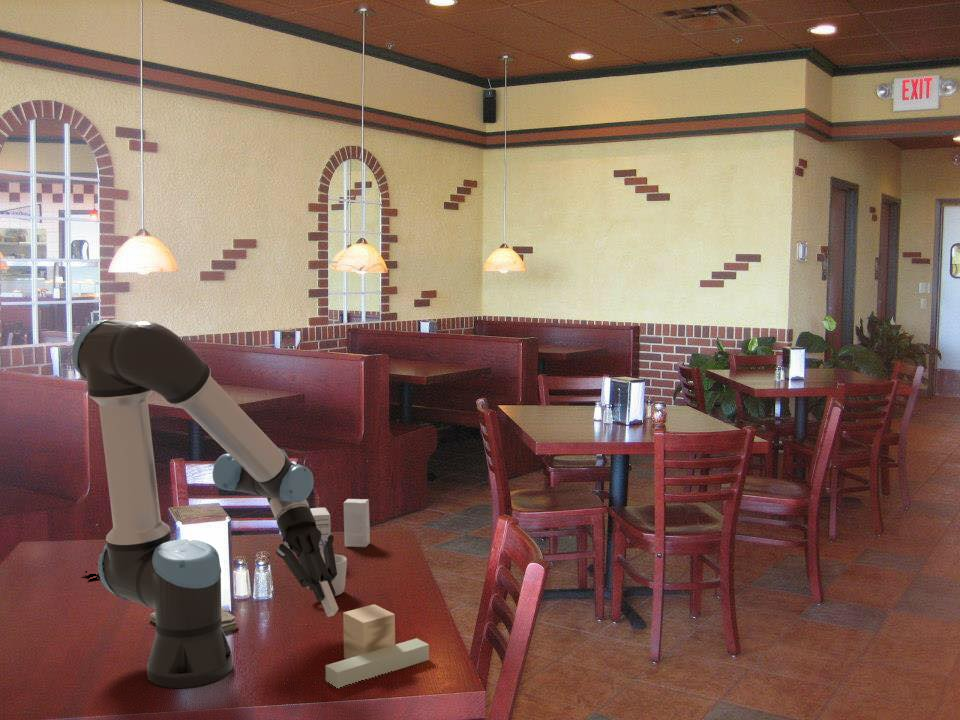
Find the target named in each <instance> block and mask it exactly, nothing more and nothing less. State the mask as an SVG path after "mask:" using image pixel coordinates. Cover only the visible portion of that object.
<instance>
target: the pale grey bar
mask: <svg viewBox="0 0 960 720" xmlns="http://www.w3.org/2000/svg"><path fill="white" fill-rule="evenodd" d="M427 661H430V644H429V643H427V642H425V641H423V640H421V639H419V638H418V637H416V638H413V639H409V640H406V641H404V642H403V641H402V642H399V643H395V645H392V646H389V647H386V648H382V649H379V650H375V651H372V652H369V653H365V654H362V655H359V656H355V657H352V658H349V659H345V658H344V659H341V660H339V661H336V662H333V663H329V664H325V682H326V681H327V682H326V683H328V682H329V683H330V684H329V683H328V684H329V685H331V684H332V685H333V686H332V685H331V686H332V687H334V686H335V687H336V689H337V688H338V689H341V688H340V687H342V688H344V687H343V686H345V685H348V684H351V685H353V684H352V683H354V684H356V683H355V682H357V683H359V682H358V681H361V680H364V681H366V680H365V679H367V680H370V679H372V677H373V678H376V677H379V676H378V675H380V676H382V675H381V674H383V675H386V674H389V673H392V672H394V671H398V670H401V669H405V668H408V667H410V666H413V665H417V664H421V663H424V662H427ZM391 671H392V672H391ZM388 672H389V673H388ZM385 673H386V674H385ZM375 676H376V677H375ZM369 678H370V679H369ZM361 682H362V681H361ZM348 686H349V685H348ZM335 687H334V688H335ZM345 687H346V686H345Z"/></svg>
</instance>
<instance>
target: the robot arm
mask: <svg viewBox="0 0 960 720" xmlns="http://www.w3.org/2000/svg"><path fill="white" fill-rule="evenodd" d="M71 360H72V363H73V367H74V368H75V370H76V371H77V373H78V374H79V375H80V376H81V377H82V378H84V379H86V383H87V384H86V385H87V391H88V393H87V394H88V397H89V398H91V400H93V401H94V402H95V403H97V404H98V407H99V408H98V409H99V418H100V425H101V426H100V428H101V433H102V436H101V437H102V443H103V451H104V459H105V469H106V477H107V485H108V493H109V494H108V495H109V501H110V502H109V503H110V511H111V518H112V519H111V520H112V528H111V530H110V531H109V532H108V533H107V534H106V536H105V541H106V543H105V545H104V547H103V549H102V550H103V551H102V553H100V554H99V556H98V557H99V559H98V560H97V561H98V563H97V564H98V565H97V568H98V572H99V575H98V576H99V577H100V578H99V577H98V578H99V580H100V581H101V584H102V585H103V586H104V587H105V589H106V590H107V591H109V592H110V593H112V594H114V595H115V596H117V597H119V598H121V599H123V600H125V601H127V602H128V601H129V602H133V603H136V604H139V605H143V606H145V607H148V608H151V609H154V612H155V621H156V624H155V636H154V640H153V643H152V646H151V649H150V654H149V656H148V659H147V664H146V672H147V673H146V676H148V677H147V679H148V680H150V681H149V682H151V683H152V682H153V683H152V684H154V685H156V686H159V687H163V688H169V689H170V688H172V689H182V688H183V689H185V688H194V687H200V686H203V685H204V686H205V685H208V684H211V683H214V682H216V681H219V680H222V679H223V678H225V677H226V676H227V675H229V674H230V673H231V672H232V670H233V665H234V662H233V660H234V659H233V653H232V652H233V651H232V650H231V647H230V645H229V643H228V640H227V637H226V634H225V633H224V631H223V629H222V618H221V608H222V568H221V563H220V561H221V560H220V555H219V552H218V551H217V549H216V548H215V547H214V546H212V545H211V544H209V543H208V542H204V541H200V540H195V539H194V540H189V539H173V540H172V534H171V527H170V525H169V524H168V523H166V522H164V521H163V520H162V519H161V518H162V517H161V508H160V502H159V501H160V500H159V493H158V483H157V475H156V474H157V473H156V465H155V455H154V454H155V453H154V445H153V437H152V430H151V429H152V428H151V421H150V420H151V419H150V412H149V411H150V410H149V402H148V399H149V397H150V396H151V394H152V393H153V392H155V393H157V394H158V395H160V396H161V397H163V398H164V399H165V400H166V402H167V403H169V404H171V405H176V406H177V405H179V406H180V407H181V408H182V409H183V410H184V411H185V412H186V413H187V414H188V415H189V416H190V417H191V418H192V419H193V420H194V421H195V422H196V423H197V424H198V425H199V426H200V427H201V428H203V430H204V431H205V432H206V433H208V435H209V436H210V437H211V438H212V439H213V440H214V441H215V442H216V443H218V444H219V446H221V448H223V449H224V451H225V452H226V453H223V454H222V455H220V456H219V457H218V458H217V459H216V460H215V462H214V463H213V468H212V479H213V483H214V484H215V486H216V487H217V488H218V489H220V490H223V491H224V490H225V491H228V492H241V493H246V494H250V495H254V496H259V497H264V498H266V500H267V503H268V504H269V507H270V510H271V512H272V514H273V517H274V519H275V521H276V525H277V527H278V529H279V530H278V531H279V533H280V535H281V537H282V543H280V544H279V545H278V547H277V548H276V551H275V554H276V555H277V557H280V558H281V559H282V560H283V561H284V563H285V564H286V565H287V567H288V569H289V570H290V571H291V573H292V575H293V576H294V577H295V579H296V581H297V582H298V583H299V585H300V586H301V588H306V587H307V588H308V587H310V588H309V589H308V590H309V591H312V592H313V594H314V596H315V599H316V601H317V602H318V603H319V602H321V604H322V608H323V610H324V612H325V615H326V617H327V618H330V617H333V616H335V614H337V612H338V610H340V609H339V606H338V604H337V602H336V599H335V597H336V596H335V595H336V592H335V590H334V588H333V585H332V583H331V582H332V581H333V580H334V578H335V577H336V576H337V569H336V563H335V557H334V554H335V552H334V546H333V544H334V540H335V539H334V538H335V537H334V535H333V534H331V535H329V536H328V537H327V536H325V535H322V533H321V531H320V530H319V529H318V528H317V527H316V522H315V519H314V517H313V515H312V512H311V510H310V505H309V502H308V500H307V499H308V497H309V496H310V494H311V492H312V491H313V489H314V481H315V480H314V475H313V473H312V471H311V469H309V468H308V467H306V466H304V465H302V464H299V463H293V462H292V461H291V460H290V458H289V456H288V455H287V453H286V451H285V450H284V449H282V448H279V447H278V446H277V445H276V444H275V443H274V442H273V441H272V440H271V439H270V437H269V436H268V435H267V434H266V433H265V432H263V430H262V429H261V428H260V426H258V425H257V424H256V423H255V422H254V420H253V419H251V417H249V415H248V414H247V413H245V411H244V410H243V409H242V407H240V406H239V405H238V404H237V402H235V400H233V398H232V397H231V396H230V395H229V394H228V393H227V391H225V389H223V387H222V386H220V385H219V383H218V382H217V381H216V380H215V379H214V378H213V377H212V376H211V375H212V374H211V373H212V370H211V367H210V365H208V363H207V362H206V361H204V359H203V358H202V357H201V355H199V354H198V353H197V352H196V351H195V350H194V349H193V348H192V347H191V346H190V345H189V344H188V343H187V342H186V341H184V340H183V339H182V338H181V337H180V336H178V335H177V334H176V333H175V332H173V330H171V329H169V328H168V327H166V326H163V325H162V324H159V323H157V322H154V321H153V322H152V321H147V320H142V321H140V320H127V319H120V318H113V319H112V318H109V319H100V320H96V321H93V322H92V323H89V324H88V325H86V326H85V327H84V328H83V329H82V330H81V331H80V332H79V334H78V335H77V336H76V337H75V340H74V343H73V344H72V351H71ZM320 541H321V544H322V547H323V553H324V559H325V563H324V560H323V558H322V555H321V553H320V547H319V543H320ZM294 553H295V554H294ZM319 581H320V583H319Z"/></svg>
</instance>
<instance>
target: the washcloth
mask: <svg viewBox="0 0 960 720" xmlns="http://www.w3.org/2000/svg"><path fill="white" fill-rule="evenodd" d="M221 618H222V629H223V631H224V634H225V633H228V632H231V631H234V630H236V629H238V628H239V625H238V624H237V621H236V620H235V619H236V616H234V615H232V614H231V613H230V612H228V610H227V609H226V608H222V607H221ZM150 620H151V621H153V622H154V623H156V621H155V611H154V612H152V613H150V614H149V616H148V621H150ZM151 621H150V622H151ZM153 622H152V623H153ZM154 623H153V624H154Z"/></svg>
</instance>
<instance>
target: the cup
mask: <svg viewBox="0 0 960 720" xmlns="http://www.w3.org/2000/svg"><path fill="white" fill-rule="evenodd" d="M334 557H335V563H336V569H337V576H336V577H335V578H334V580H333V581H332V582H331V583H332V585H333V588H334V590H335V592H336V595H335V596H334V597H337V596H339V595H342V593H344V591H345V588H346V577H347V565H348V559H347V557H346V556H345V555H341V554H336V553H334ZM322 558H323V560H324V563H325V559H324V555H322ZM319 583H320V581H319ZM309 588H310V587H307V589H308V590H310V589H309Z"/></svg>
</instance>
